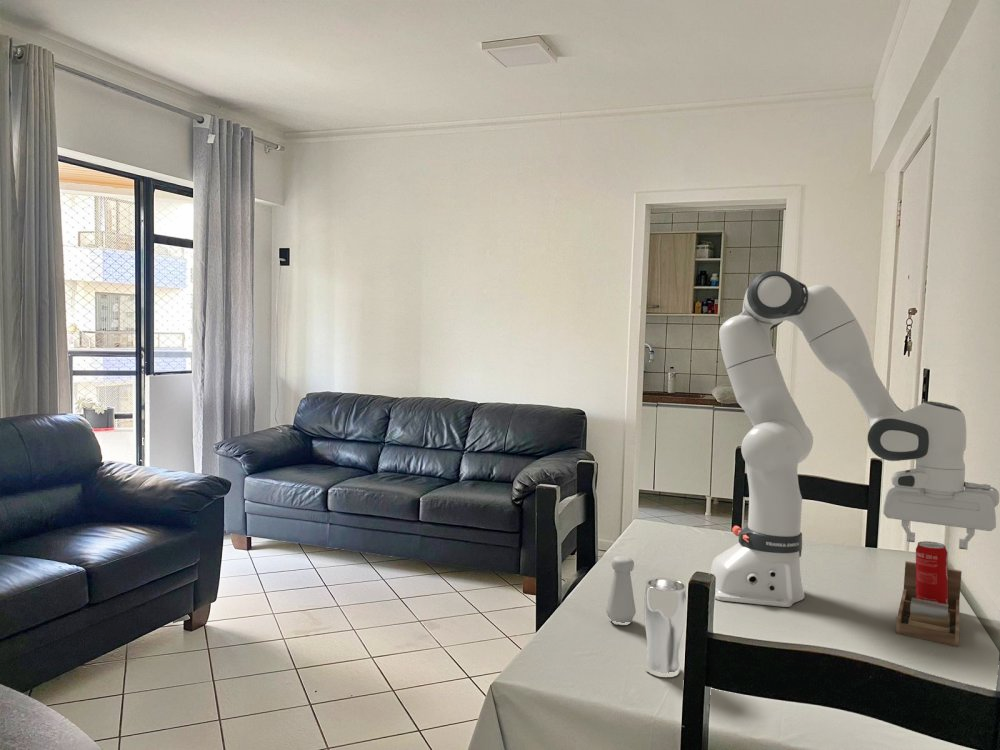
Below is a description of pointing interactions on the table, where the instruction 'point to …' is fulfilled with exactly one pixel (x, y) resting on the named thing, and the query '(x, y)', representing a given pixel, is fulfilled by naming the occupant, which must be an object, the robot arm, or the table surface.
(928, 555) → the beverage can
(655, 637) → the beer glass
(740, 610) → the table surface
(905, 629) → the rack
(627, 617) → the salt shaker
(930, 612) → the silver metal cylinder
